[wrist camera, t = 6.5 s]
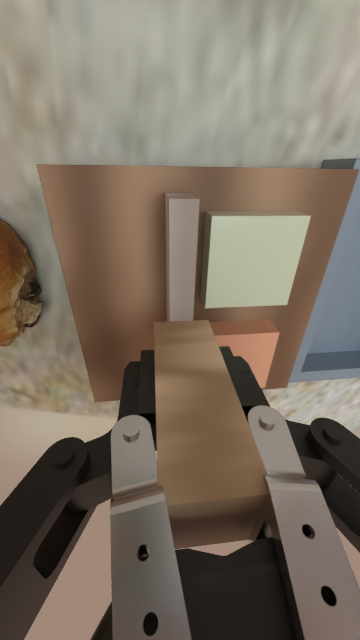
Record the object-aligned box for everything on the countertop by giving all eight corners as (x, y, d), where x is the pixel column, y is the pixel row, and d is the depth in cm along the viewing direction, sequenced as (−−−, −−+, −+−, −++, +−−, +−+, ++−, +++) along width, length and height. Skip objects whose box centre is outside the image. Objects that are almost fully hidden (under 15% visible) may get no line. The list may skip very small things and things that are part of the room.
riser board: (103, 367, 23) (95, 401, 20) (62, 165, 15) (36, 164, 11) (267, 357, 25) (286, 387, 21) (315, 168, 16) (359, 169, 13)
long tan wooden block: (157, 392, 19) (163, 600, 10) (148, 191, 12) (144, 275, 3) (192, 390, 20) (230, 590, 10) (205, 192, 12) (375, 270, 3)
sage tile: (200, 296, 16) (205, 308, 14) (205, 211, 13) (212, 216, 12) (275, 293, 16) (287, 304, 15) (294, 211, 14) (311, 215, 12)
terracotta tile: (195, 376, 19) (198, 392, 18) (198, 322, 17) (203, 336, 15) (256, 372, 20) (264, 387, 19) (269, 319, 17) (279, 332, 16)
